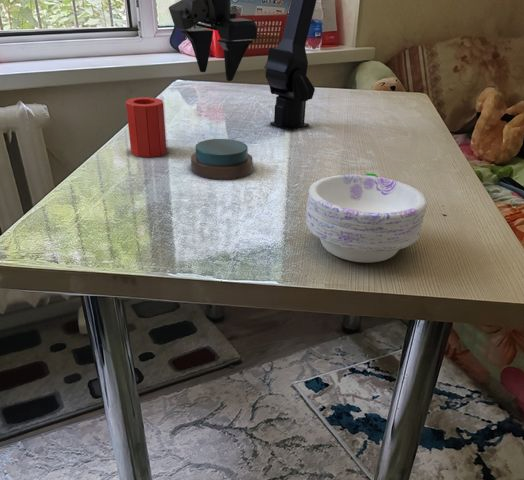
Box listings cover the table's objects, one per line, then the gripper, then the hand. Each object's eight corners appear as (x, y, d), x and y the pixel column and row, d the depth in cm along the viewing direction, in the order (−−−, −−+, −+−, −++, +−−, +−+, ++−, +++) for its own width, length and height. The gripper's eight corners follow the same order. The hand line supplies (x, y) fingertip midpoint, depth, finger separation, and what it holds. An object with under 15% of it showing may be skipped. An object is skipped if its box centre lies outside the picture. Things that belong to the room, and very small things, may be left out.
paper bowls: (391, 222, 82) (401, 170, 77) (433, 271, 70) (448, 213, 66) (292, 226, 80) (296, 172, 75) (319, 278, 68) (325, 218, 63)
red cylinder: (164, 145, 108) (160, 96, 103) (168, 156, 103) (164, 105, 98) (130, 146, 107) (124, 97, 101) (132, 158, 102) (126, 106, 96)
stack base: (226, 155, 105) (226, 133, 102) (264, 171, 98) (265, 148, 96) (179, 166, 99) (177, 144, 96) (217, 184, 92) (216, 160, 90)
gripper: (147, -26, 97) (154, 71, 107) (204, -18, 86) (207, 90, 95) (200, -26, 103) (203, 66, 112) (260, -18, 91) (257, 84, 101)
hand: (215, 76), depth 105 cm, fingers open, 9 cm apart
